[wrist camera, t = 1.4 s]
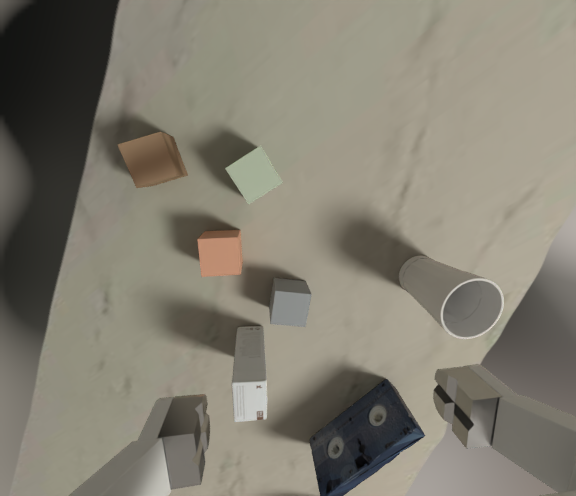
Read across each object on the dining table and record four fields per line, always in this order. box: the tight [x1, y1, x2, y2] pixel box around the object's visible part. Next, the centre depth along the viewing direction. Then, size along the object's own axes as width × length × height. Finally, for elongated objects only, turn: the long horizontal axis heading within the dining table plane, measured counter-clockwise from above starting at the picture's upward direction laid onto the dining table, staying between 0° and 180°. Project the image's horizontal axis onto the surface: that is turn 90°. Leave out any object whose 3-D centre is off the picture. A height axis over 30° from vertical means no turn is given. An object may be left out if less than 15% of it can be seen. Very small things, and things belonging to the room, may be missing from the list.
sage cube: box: [225, 146, 283, 204], centre depth 36 cm, size 5×5×5 cm
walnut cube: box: [117, 132, 188, 188], centre depth 35 cm, size 5×5×5 cm
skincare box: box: [232, 326, 267, 422], centre depth 39 cm, size 6×4×12 cm
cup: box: [399, 256, 504, 339], centre depth 39 cm, size 8×8×12 cm
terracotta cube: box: [197, 230, 243, 277], centre depth 38 cm, size 5×5×5 cm
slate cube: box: [269, 278, 311, 327], centre depth 41 cm, size 5×5×5 cm
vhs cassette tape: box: [310, 379, 425, 496], centre depth 46 cm, size 18×3×10 cm, turn 130°
